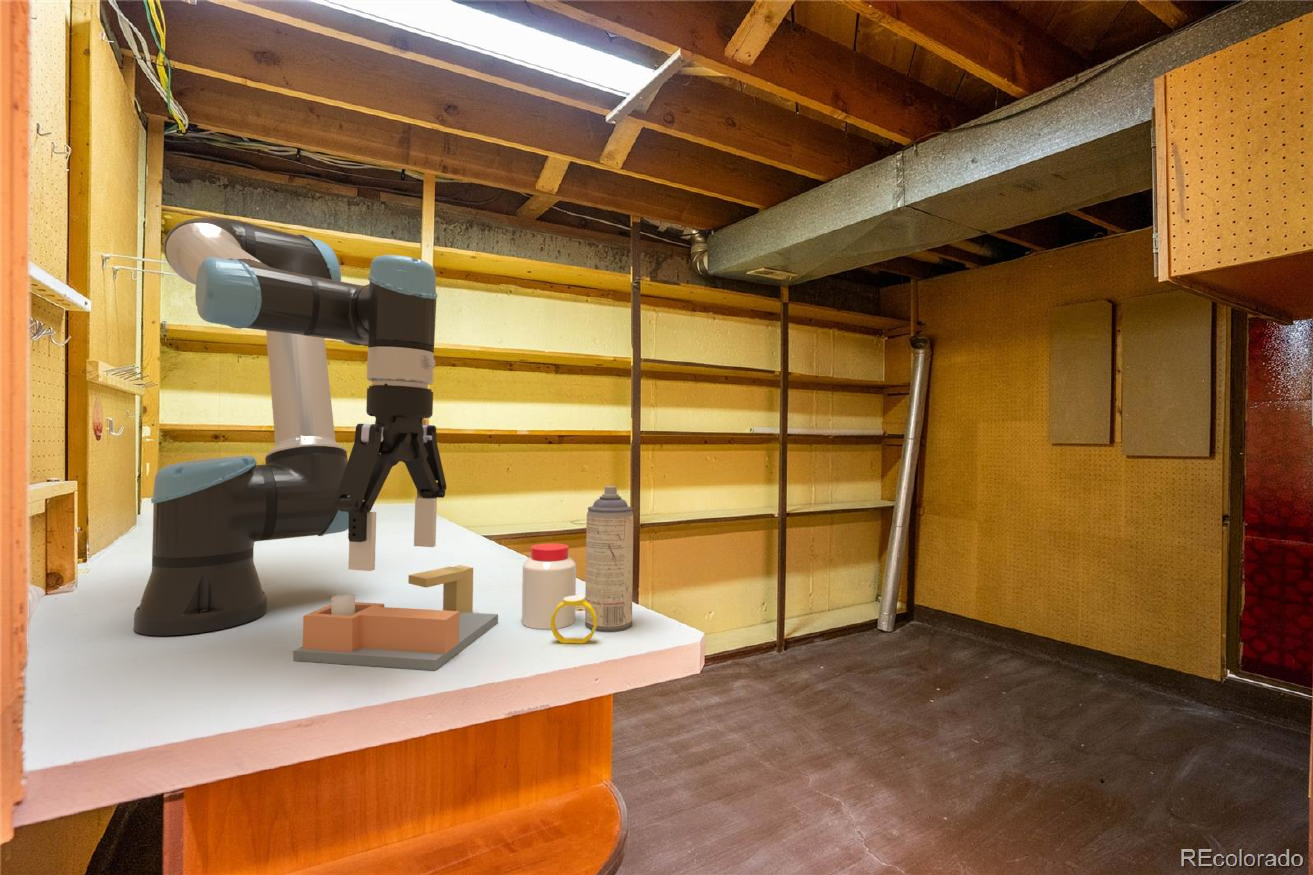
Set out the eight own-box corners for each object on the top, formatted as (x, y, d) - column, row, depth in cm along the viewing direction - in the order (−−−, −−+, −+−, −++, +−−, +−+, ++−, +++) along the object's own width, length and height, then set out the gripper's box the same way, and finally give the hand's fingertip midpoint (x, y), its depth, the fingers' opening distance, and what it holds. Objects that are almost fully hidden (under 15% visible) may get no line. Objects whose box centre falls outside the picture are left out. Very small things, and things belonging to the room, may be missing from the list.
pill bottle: (564, 631, 82) (565, 552, 82) (512, 627, 83) (513, 549, 83) (582, 615, 89) (583, 543, 89) (534, 611, 91) (535, 540, 91)
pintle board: (293, 660, 70) (294, 600, 70) (397, 608, 91) (398, 562, 91) (435, 670, 67) (436, 607, 67) (508, 614, 89) (508, 567, 89)
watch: (550, 648, 76) (548, 602, 76) (554, 640, 79) (551, 596, 79) (596, 645, 76) (594, 599, 76) (598, 637, 79) (596, 593, 79)
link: (302, 649, 70) (303, 615, 70) (338, 631, 77) (338, 601, 77) (439, 658, 68) (439, 623, 68) (464, 639, 74) (464, 608, 74)
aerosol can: (641, 624, 85) (643, 487, 85) (606, 635, 80) (608, 489, 80) (610, 614, 90) (612, 484, 90) (575, 624, 85) (577, 486, 85)
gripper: (366, 376, 60) (360, 584, 60) (473, 393, 84) (469, 540, 85) (299, 375, 60) (293, 579, 61) (424, 391, 85) (420, 537, 86)
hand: (396, 557), depth 73 cm, fingers open, 13 cm apart
